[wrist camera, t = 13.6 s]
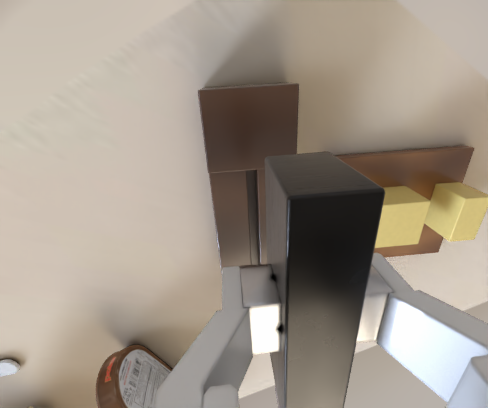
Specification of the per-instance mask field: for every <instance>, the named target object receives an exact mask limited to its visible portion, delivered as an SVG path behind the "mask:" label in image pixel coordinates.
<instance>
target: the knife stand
mask: <svg viewBox="0 0 488 408" xmlns="http://www.w3.org/2000/svg"><path fill="white" fill-rule="evenodd" d="M198 97H199V104H200V112H201V120H202V128H203V136H204V144H205V152H206V160H207V168H208V173H209V177H210V185H211V193H212V201H213V209H214V217H215V225H216V233H217V241H218V249H219V257H220V265H221V273H222V269H223V267H234V266H239V268H240V266H244V265H258V264H267V234H266V195H265V158H266V157H268V156H280V155H292V154H297V127H298V99H299V84H297V83H272V84H257V85H241V86H226V87H211V88H202V89H200V90H198ZM240 278H241V277H240Z"/></svg>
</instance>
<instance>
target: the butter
mask: <svg viewBox="0 0 488 408" xmlns="http://www.w3.org/2000/svg"><path fill="white" fill-rule="evenodd" d="M384 190H385V197H384V202H383V208H382V213H381V218H380V223H379V228H378V233H377V239H376V244H375V248H380V247H391V246H402V245H413V244H418V242H419V239H420V236H421V232H422V229H423V226H424V222H425V219H426V216H427V212H428V209H429V205H430V202H431V201H430V200H428V199H426V198H425V197H423V196H421V195H420V194H418V193H416V192H415V191H413V190H411V189H410V188H408V187H406V186H397V187H385V188H384Z"/></svg>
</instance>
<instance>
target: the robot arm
mask: <svg viewBox="0 0 488 408" xmlns="http://www.w3.org/2000/svg"><path fill="white" fill-rule="evenodd" d="M240 277H241V278H240ZM281 324H282V302H281V298H280V294H279V290H278V287H277V283H276V282H275V281H274V271H273V268H272V265H271V264H258V265H244V266H240V268H239V266H234V267H223V269H222V310H221V311H216V313H215V314H214V315H213V317H212V318H211V319H210V321H209V322H208V323H207V325H206V326H205V327H204V329H203V330H202V331H201V333H200V334H199V335H198V337H197V338H196V339H195V341H194V342H193V343H192V345H191V346H190V347H189V349H188V350H187V351H186V353H185V354H184V355H183V357H182V358H181V359H180V361H179V362H178V363H177V365H176V366H175V367H174V369H173V370H172V371H171V373H170V374H169V375H168V377H167V378H166V379H165V381H164V382H163V383H162V385H161V386H160V387H159V389H158V390H157V393H156V398H155V403H154V407H153V408H240V407H239V398H238V390H239V388H240V386H241V383H242V381H243V379H244V376H245V374H246V371H247V369H248V367H249V364H250V362H251V360H252V357H253V355H255V354H263V353H270V352H277V351H281V343H282V333H281V329H280V325H281ZM375 341H377V344H378V345H380V346H381V347H382V348H383V349H384V350H385V351H387V352H388V353H389V354H390V355H391V356H393V357H394V358H395V359H396V360H397V361H398V362H400V363H401V364H402V365H403V366H404V367H406V368H407V369H408V370H409V371H410V372H411V373H413V374H414V375H415V376H416V377H417V378H419V379H420V380H421V381H422V382H423V383H424V384H426V385H427V386H428V387H429V388H430V389H432V390H433V391H434V392H435V393H436V394H438V395H439V396H440V397H441V398H442V399H443V400H445V401H446V402H447V405H446V407H445V408H488V323H486V322H484V321H482V320H479V319H477V318H475V317H473V316H471V315H469V314H467V313H465V312H463V311H461V310H459V309H457V308H455V307H453V306H451V305H449V304H447V303H445V302H443V301H441V300H439V299H437V298H434V297H432V296H430V295H428V294H426V293H424V292H422V291H420V290H418V291H414V290H413V289H412V288H411V287H410V285H409V284H408V283H407V282H406V281H405V280H404V279H403V278H402V277H401V276H400V274H399V273H398V272H397V271H396V270H395V269H394V268H393V267H392V266H391V265H390V263H389V262H388V261H387V260H386V259H385V258H384V257H383V256H382V255H381V254H379V253H374V254H373V259H372V264H371V269H370V275H369V280H368V285H367V290H366V295H365V300H364V306H363V311H362V316H361V321H360V326H359V331H358V336H357V342H356V343H362V342H375Z"/></svg>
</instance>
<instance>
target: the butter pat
mask: <svg viewBox="0 0 488 408" xmlns="http://www.w3.org/2000/svg"><path fill="white" fill-rule="evenodd" d="M487 208H488V195H487V194H485V193H483V192H481V191H478V190H476V189H474V188H472V187H469V186H467V185H465V184H463V183H460V182H455V183H440V184H436V185H435V188H434V191H433V194H432V197H431V202H430V205H429V209H428V212H427V216H426V219H425V222H424V224H426V225H427V226H429V227H430V228H431V229H433V230H434V231H435V232H437V233H438V234H440V235H441V236H442V237H444V238H445V239H446V240H448V241H462V240H474V239H475V236H476V234H477V232H478V229H479V227H480V225H481V222H482V220H483V218H484V215H485V213H486V211H487Z"/></svg>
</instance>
